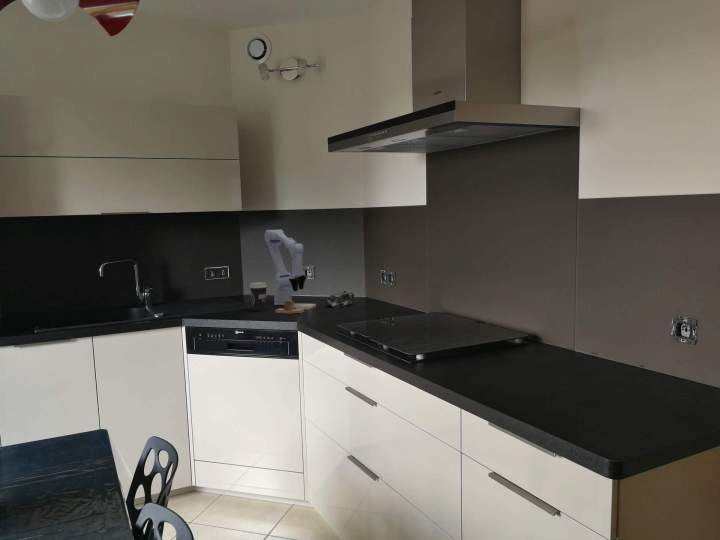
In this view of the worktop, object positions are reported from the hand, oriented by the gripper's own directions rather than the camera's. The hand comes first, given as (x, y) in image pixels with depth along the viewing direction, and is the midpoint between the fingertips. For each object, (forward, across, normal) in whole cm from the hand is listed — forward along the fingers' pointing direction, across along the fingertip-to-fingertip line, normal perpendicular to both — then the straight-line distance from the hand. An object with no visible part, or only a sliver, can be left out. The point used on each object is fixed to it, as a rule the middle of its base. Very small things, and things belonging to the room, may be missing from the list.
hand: (298, 290), depth 315 cm
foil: (+10, +8, -21) cm, 25 cm away
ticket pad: (+9, -2, -2) cm, 10 cm away
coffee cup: (+10, -14, +17) cm, 24 cm away
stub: (+9, -16, -2) cm, 19 cm away
